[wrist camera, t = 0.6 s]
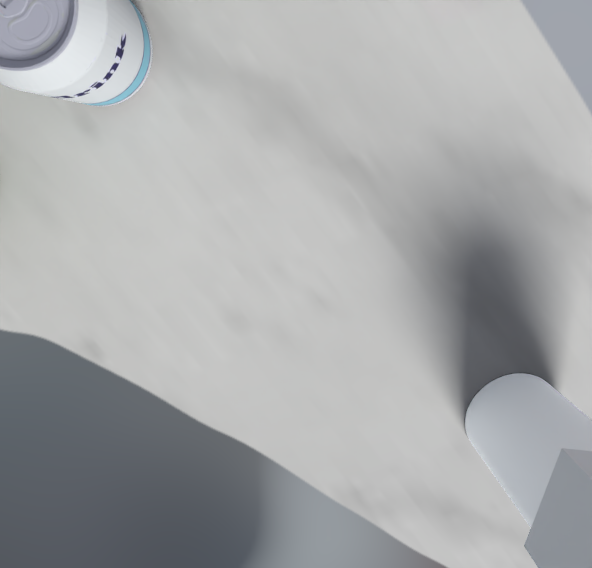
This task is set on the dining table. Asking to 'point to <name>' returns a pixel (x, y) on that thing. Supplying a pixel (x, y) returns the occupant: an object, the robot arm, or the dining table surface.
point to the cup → (524, 435)
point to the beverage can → (74, 49)
